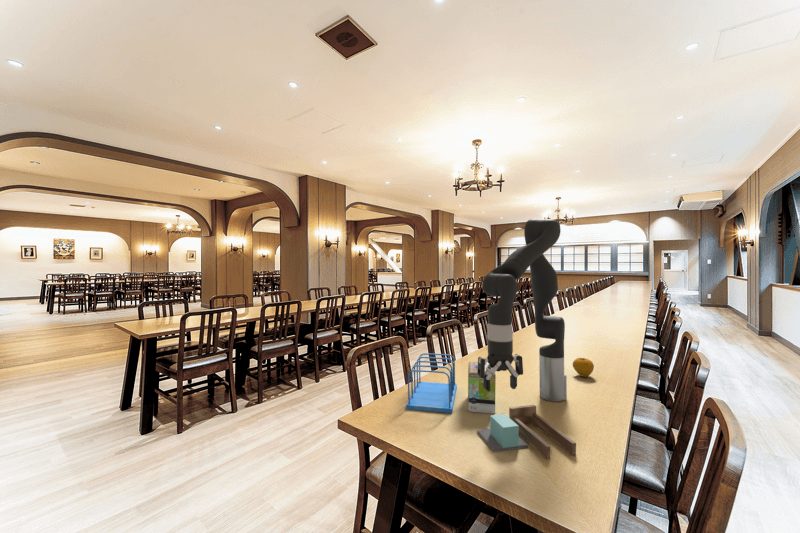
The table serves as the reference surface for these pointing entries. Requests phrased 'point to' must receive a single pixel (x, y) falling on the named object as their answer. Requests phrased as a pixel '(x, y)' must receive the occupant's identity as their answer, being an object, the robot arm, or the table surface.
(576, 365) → the apple
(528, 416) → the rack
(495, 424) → the teal blank
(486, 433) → the felt mat
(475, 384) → the tea box
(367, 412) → the table surface
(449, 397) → the file sorter
